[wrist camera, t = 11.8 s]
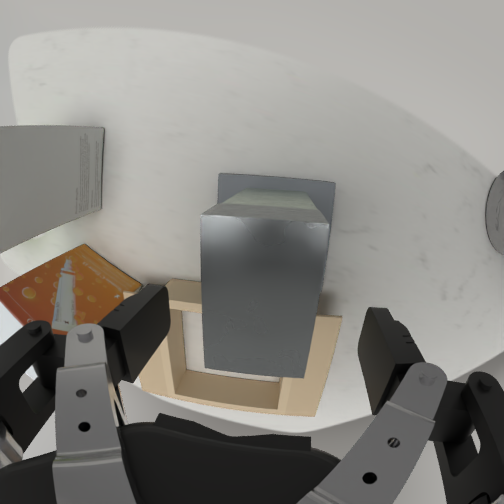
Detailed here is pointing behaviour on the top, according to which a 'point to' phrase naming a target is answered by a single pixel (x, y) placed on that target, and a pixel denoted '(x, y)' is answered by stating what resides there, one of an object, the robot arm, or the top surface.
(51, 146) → the skincare box
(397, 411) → the robot arm
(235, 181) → the mat
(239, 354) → the tea tin
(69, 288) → the small box
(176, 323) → the wooden rectangular frame
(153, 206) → the top surface
